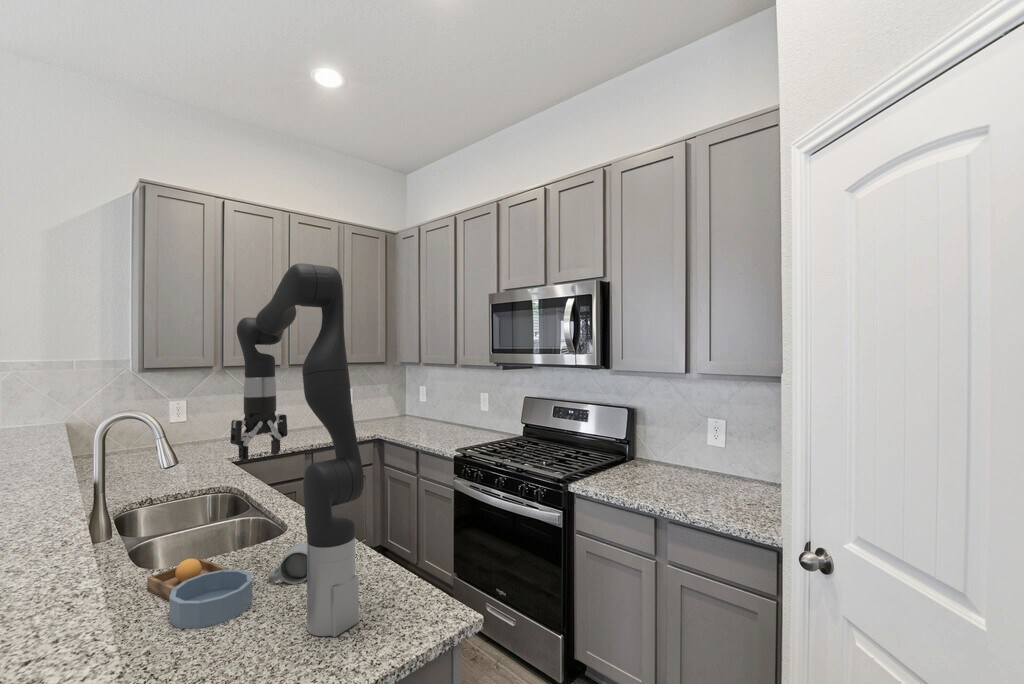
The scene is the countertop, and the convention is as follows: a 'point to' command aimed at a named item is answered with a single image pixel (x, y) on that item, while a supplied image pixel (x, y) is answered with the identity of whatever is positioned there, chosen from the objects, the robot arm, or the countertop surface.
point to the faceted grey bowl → (210, 598)
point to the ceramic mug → (292, 566)
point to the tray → (175, 579)
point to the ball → (188, 569)
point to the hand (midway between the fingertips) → (260, 457)
